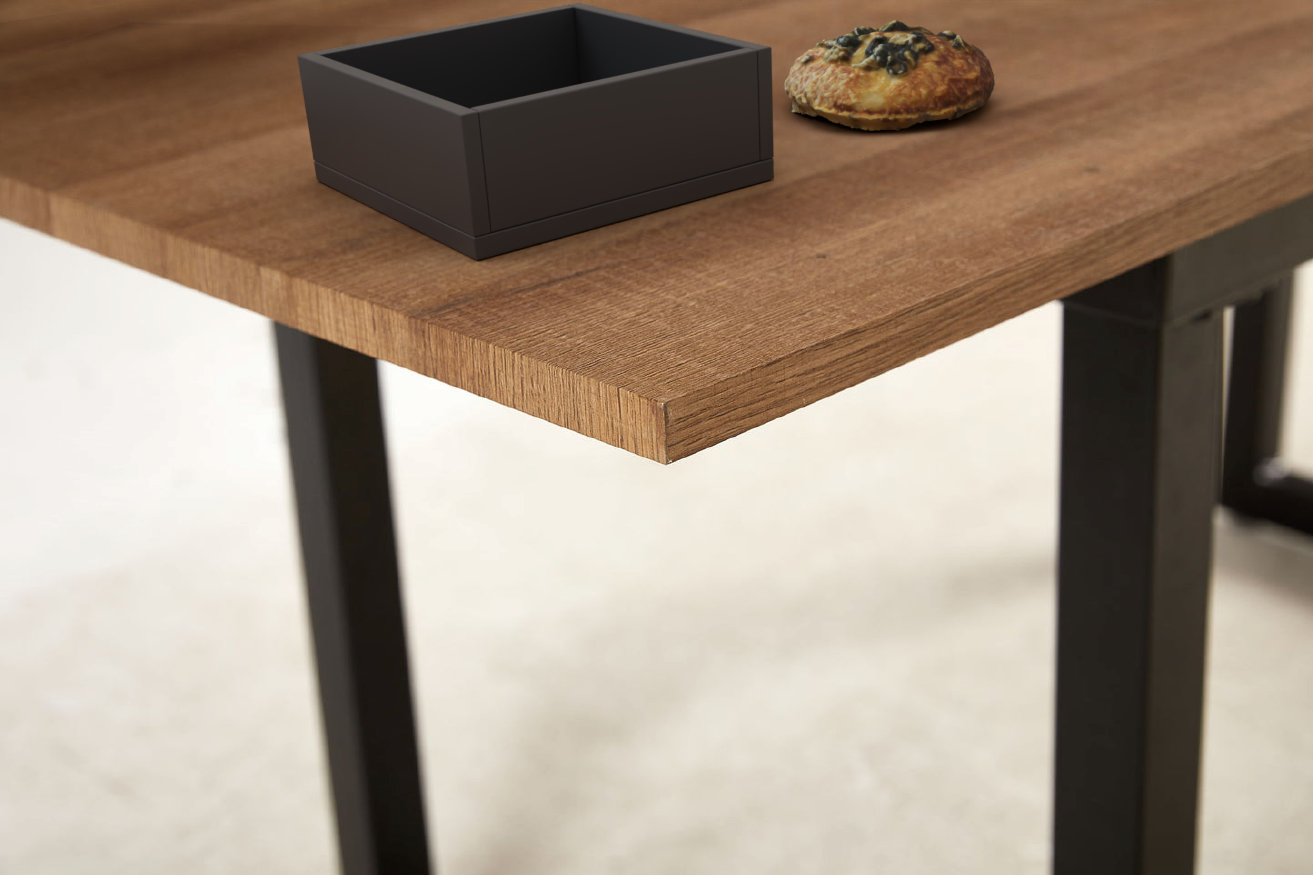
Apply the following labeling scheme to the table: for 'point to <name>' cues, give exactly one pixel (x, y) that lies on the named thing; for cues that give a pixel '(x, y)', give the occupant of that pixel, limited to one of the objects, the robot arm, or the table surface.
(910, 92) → the bread roll
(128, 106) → the table surface
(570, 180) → the bin
